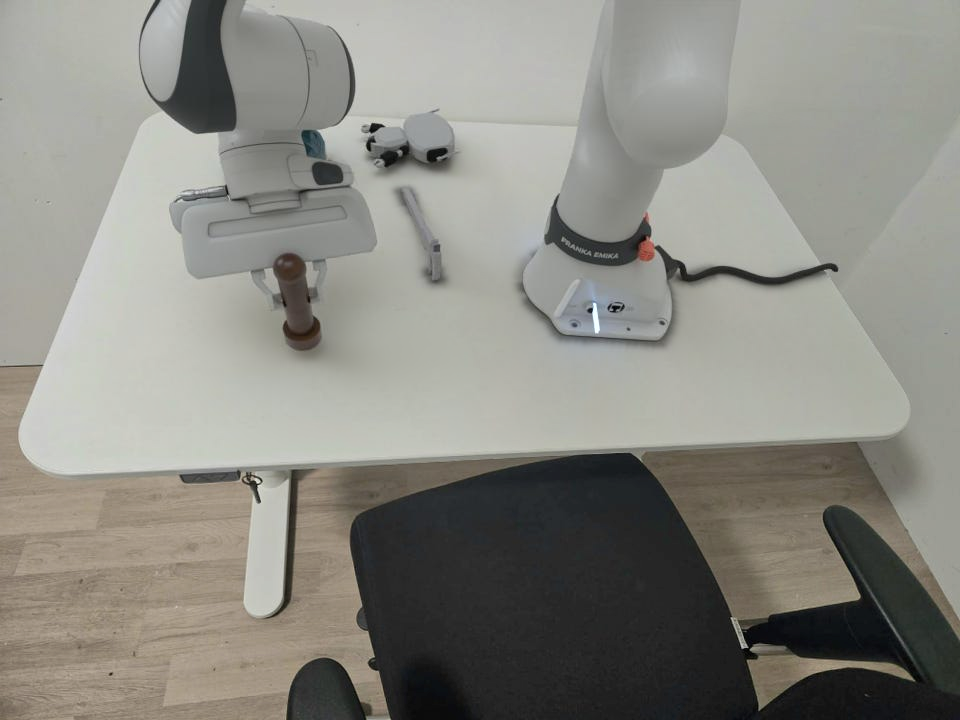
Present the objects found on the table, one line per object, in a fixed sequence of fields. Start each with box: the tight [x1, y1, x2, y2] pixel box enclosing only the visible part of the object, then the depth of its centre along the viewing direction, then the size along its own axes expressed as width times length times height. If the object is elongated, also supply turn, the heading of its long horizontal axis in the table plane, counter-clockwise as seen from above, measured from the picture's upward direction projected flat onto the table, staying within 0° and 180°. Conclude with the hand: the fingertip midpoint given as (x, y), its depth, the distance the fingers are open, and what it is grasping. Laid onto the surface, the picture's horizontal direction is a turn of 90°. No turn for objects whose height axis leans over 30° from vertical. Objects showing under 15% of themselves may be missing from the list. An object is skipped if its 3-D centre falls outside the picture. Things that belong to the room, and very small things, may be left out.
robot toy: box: [360, 107, 461, 169], centre depth 97 cm, size 12×4×15 cm
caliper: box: [400, 187, 442, 281], centre depth 85 cm, size 20×1×6 cm, turn 17°
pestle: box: [272, 253, 323, 352], centre depth 65 cm, size 4×4×14 cm
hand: (297, 306), depth 65 cm, fingers closed on pestle, 3 cm apart
